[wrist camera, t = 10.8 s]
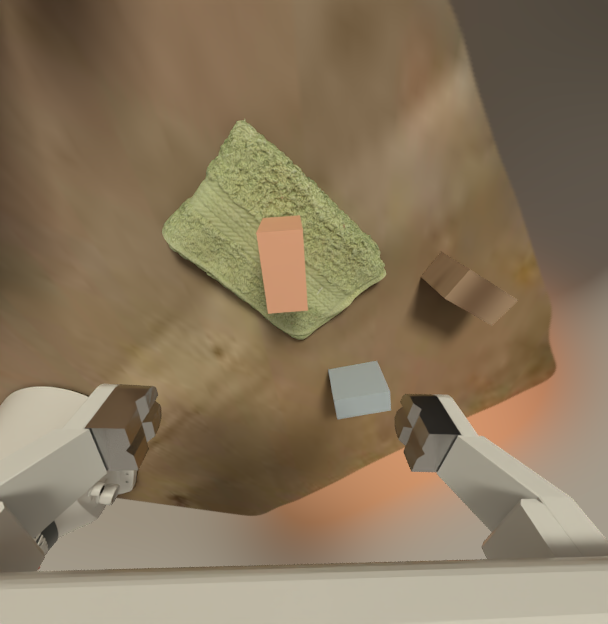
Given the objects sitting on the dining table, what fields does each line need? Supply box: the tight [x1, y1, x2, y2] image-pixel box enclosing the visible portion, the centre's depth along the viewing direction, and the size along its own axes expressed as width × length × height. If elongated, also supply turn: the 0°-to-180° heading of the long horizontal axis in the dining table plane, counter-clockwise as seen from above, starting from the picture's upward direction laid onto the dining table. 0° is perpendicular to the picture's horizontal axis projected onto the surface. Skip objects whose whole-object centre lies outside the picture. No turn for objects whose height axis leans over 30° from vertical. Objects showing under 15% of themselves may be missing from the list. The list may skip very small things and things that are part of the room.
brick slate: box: [328, 361, 391, 419], centre depth 32 cm, size 6×3×5 cm, turn 101°
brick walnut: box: [421, 252, 518, 326], centre depth 26 cm, size 6×3×5 cm, turn 61°
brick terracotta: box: [256, 215, 308, 314], centre depth 21 cm, size 6×3×5 cm, turn 4°
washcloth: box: [162, 119, 386, 340], centre depth 25 cm, size 13×18×3 cm
